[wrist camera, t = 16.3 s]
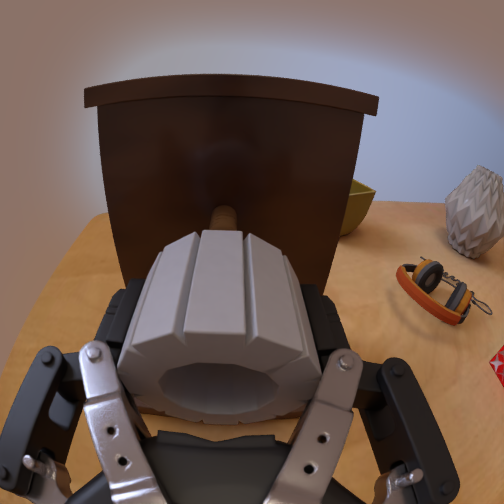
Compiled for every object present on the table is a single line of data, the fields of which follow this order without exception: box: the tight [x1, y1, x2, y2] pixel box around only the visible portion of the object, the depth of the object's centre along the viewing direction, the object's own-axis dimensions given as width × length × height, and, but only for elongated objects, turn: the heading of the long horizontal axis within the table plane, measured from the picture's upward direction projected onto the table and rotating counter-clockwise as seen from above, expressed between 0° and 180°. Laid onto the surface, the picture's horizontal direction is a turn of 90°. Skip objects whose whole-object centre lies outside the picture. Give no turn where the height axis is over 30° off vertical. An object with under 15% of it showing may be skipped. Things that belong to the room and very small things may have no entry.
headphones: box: [396, 257, 492, 326], centre depth 31 cm, size 17×5×20 cm
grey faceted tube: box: [117, 230, 322, 425], centre depth 10 cm, size 7×5×7 cm
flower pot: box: [340, 179, 376, 236], centre depth 44 cm, size 9×9×9 cm
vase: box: [445, 165, 504, 259], centre depth 41 cm, size 16×16×18 cm
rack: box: [84, 74, 379, 419], centre depth 17 cm, size 16×10×23 cm, turn 93°
